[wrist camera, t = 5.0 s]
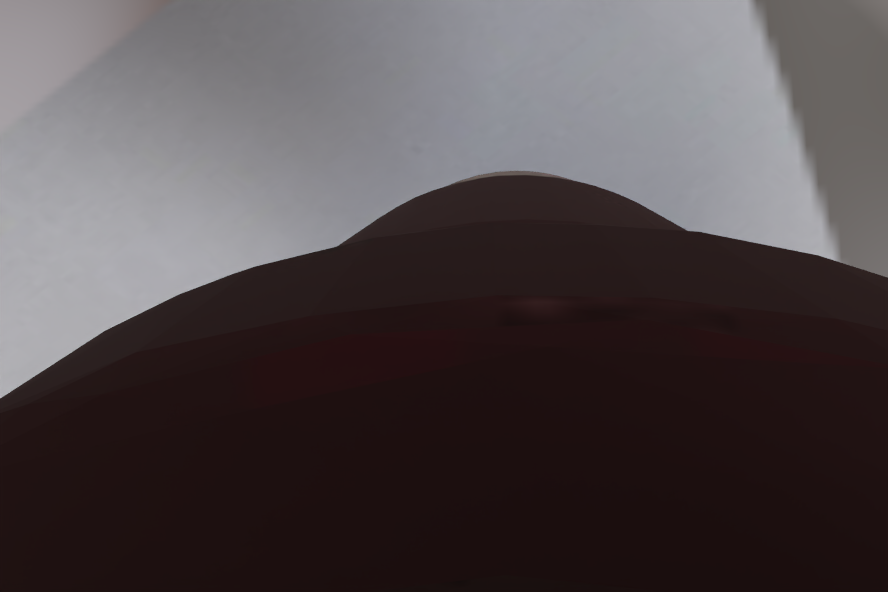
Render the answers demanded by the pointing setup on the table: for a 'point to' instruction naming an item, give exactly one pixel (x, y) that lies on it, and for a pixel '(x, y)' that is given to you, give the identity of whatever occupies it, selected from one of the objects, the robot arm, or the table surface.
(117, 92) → the table surface
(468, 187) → the coffee cup
